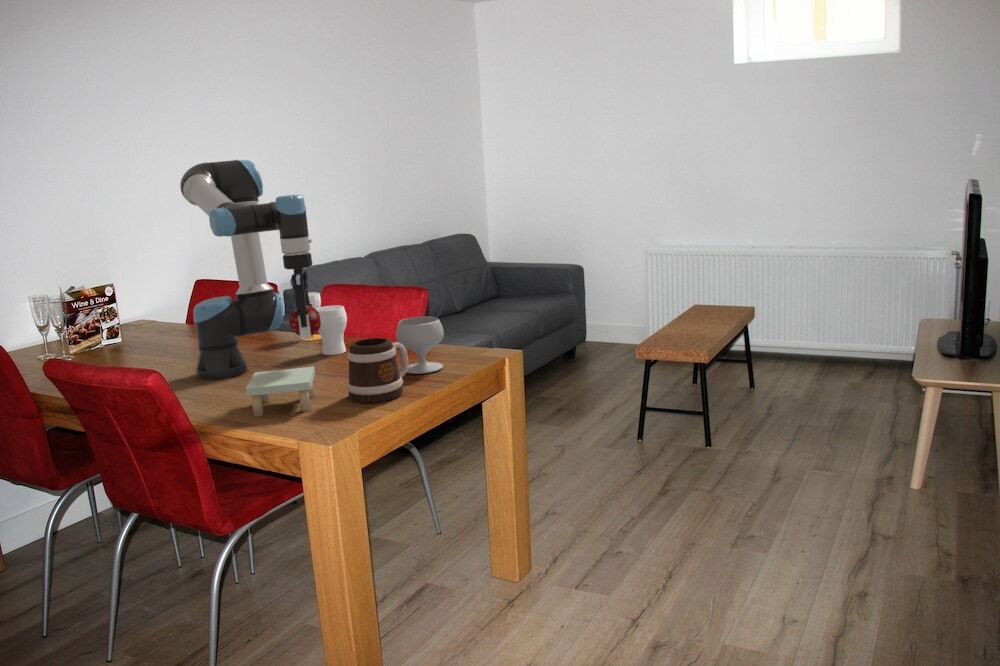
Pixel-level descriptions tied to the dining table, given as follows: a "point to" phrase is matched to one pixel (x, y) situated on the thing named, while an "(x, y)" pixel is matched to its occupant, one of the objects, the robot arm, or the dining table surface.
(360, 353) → the mug
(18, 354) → the dining table surface
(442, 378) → the dining table surface
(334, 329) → the cup
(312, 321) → the christmas ornament
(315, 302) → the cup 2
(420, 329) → the chalice
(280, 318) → the robot arm
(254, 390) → the mint green side table
